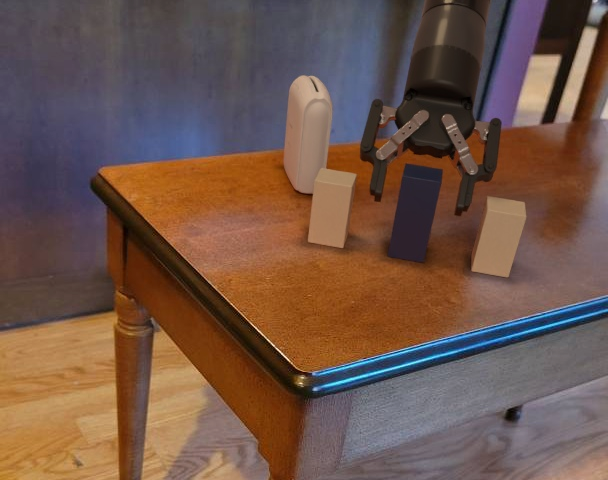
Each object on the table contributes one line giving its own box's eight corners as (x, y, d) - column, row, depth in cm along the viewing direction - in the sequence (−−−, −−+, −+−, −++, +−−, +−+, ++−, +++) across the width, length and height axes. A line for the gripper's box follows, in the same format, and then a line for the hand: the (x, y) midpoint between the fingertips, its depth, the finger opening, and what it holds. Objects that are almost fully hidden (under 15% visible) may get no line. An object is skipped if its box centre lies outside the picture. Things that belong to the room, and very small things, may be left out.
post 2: (507, 261, 82) (524, 201, 78) (508, 278, 79) (526, 216, 75) (471, 255, 83) (487, 195, 79) (471, 271, 80) (487, 209, 75)
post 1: (348, 234, 84) (357, 173, 80) (343, 248, 81) (352, 186, 77) (313, 227, 84) (320, 167, 80) (307, 242, 81) (314, 180, 77)
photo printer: (279, 164, 99) (287, 66, 92) (310, 165, 100) (321, 68, 93) (293, 195, 91) (303, 90, 84) (326, 196, 92) (339, 92, 85)
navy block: (425, 247, 83) (443, 169, 78) (423, 263, 80) (441, 182, 75) (390, 241, 84) (405, 162, 78) (387, 256, 80) (402, 175, 75)
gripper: (381, 32, 76) (350, 179, 74) (520, 53, 75) (493, 202, 73) (378, 75, 84) (350, 209, 82) (504, 94, 82) (479, 231, 80)
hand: (418, 206), depth 77 cm, fingers open, 8 cm apart
